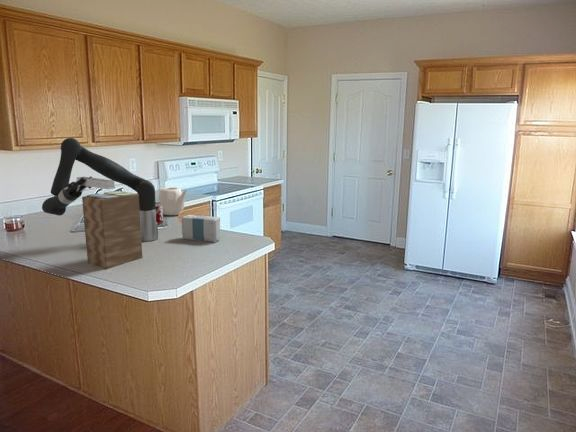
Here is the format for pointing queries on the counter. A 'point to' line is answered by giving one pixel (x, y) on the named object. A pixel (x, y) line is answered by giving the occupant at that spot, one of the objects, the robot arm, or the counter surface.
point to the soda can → (159, 213)
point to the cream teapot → (172, 200)
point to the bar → (97, 183)
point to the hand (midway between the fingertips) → (87, 178)
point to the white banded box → (201, 227)
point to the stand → (112, 228)
